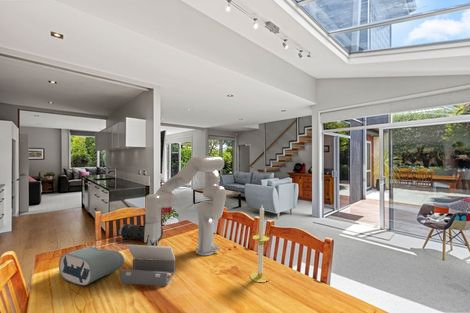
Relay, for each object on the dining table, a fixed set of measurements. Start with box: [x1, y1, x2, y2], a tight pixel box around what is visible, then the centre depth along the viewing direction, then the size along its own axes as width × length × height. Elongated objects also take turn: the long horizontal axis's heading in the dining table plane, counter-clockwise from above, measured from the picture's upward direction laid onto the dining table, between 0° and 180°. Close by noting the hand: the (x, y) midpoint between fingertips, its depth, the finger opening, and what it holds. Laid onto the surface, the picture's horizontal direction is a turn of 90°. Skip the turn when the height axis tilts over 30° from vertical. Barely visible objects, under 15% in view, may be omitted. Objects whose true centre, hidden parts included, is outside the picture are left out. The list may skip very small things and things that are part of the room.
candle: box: [249, 204, 270, 283], centre depth 114 cm, size 10×10×38 cm
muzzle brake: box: [118, 223, 164, 243], centre depth 158 cm, size 10×28×10 cm, turn 81°
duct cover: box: [126, 244, 176, 262], centre depth 115 cm, size 22×12×1 cm
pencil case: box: [58, 244, 125, 286], centre depth 114 cm, size 22×19×13 cm
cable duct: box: [120, 258, 176, 287], centre depth 112 cm, size 22×13×6 cm, turn 86°
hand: (153, 253), depth 117 cm, fingers closed
